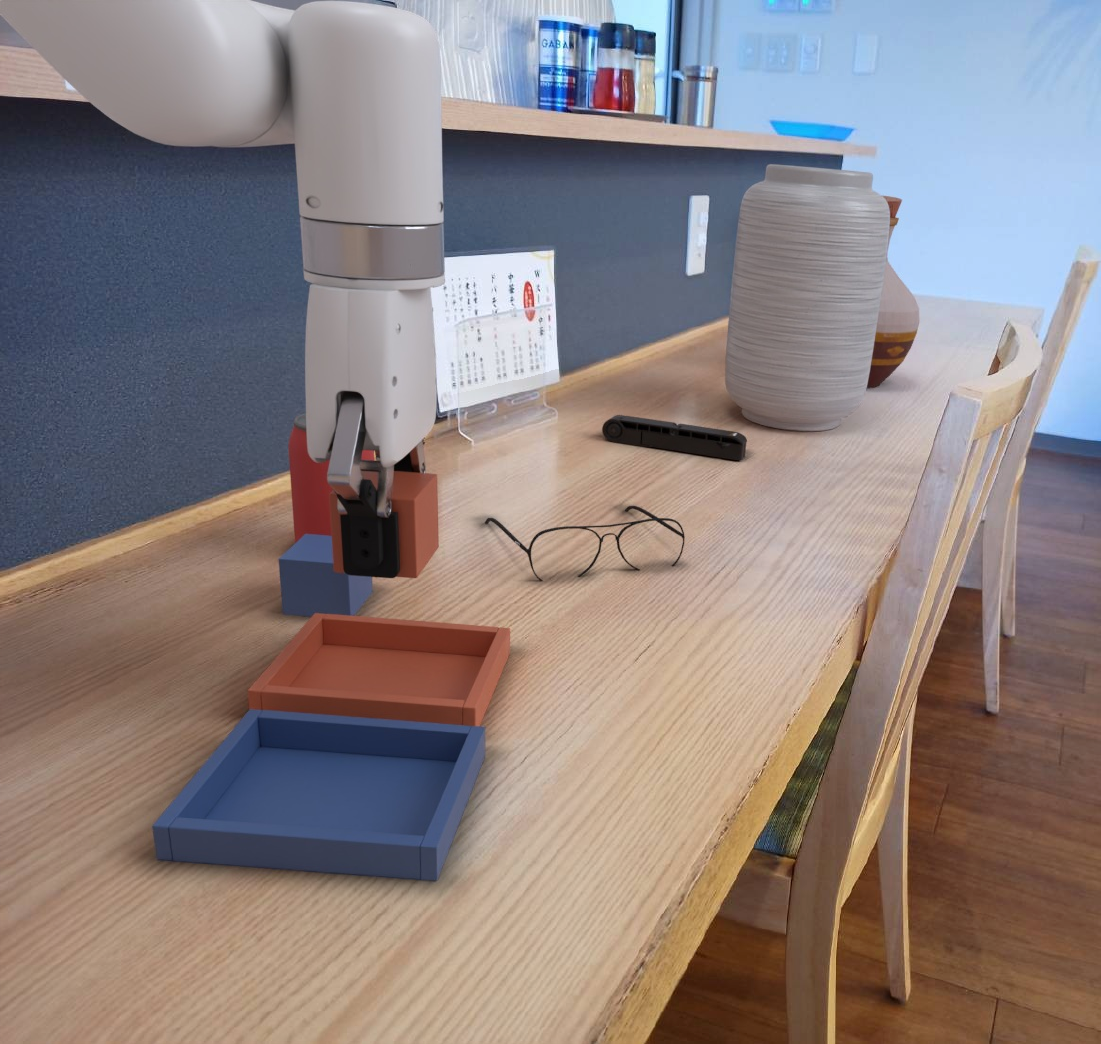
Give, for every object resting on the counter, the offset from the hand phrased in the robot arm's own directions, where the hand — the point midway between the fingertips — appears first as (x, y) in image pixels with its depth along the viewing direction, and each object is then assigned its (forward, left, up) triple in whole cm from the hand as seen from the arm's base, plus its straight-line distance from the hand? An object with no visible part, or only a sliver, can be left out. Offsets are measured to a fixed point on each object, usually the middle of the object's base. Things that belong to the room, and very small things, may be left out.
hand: (387, 553), depth 61 cm
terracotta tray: (0, 0, -10) cm, 10 cm away
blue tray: (+1, -13, -10) cm, 16 cm away
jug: (+45, +110, -10) cm, 119 cm away
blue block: (-8, +11, -10) cm, 17 cm away
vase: (+32, +81, -10) cm, 88 cm away
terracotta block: (0, 0, 0) cm, 0 cm away
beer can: (-11, +21, -10) cm, 26 cm away
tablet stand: (+16, +61, -10) cm, 64 cm away
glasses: (+9, +27, -10) cm, 30 cm away
